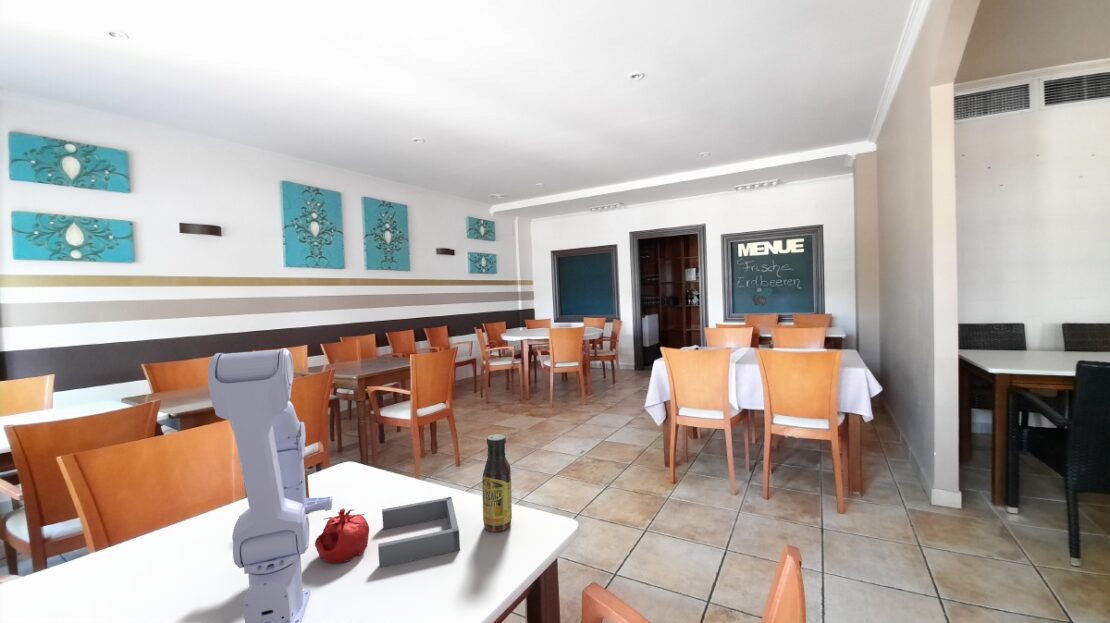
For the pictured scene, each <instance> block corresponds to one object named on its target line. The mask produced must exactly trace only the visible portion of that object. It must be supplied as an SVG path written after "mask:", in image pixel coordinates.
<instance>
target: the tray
mask: <svg viewBox="0 0 1110 623" xmlns="http://www.w3.org/2000/svg"><path fill="white" fill-rule="evenodd" d="M381 514H382V515H381V516H382V530H387V529H392V528H398V527H405V526H407V525H408V526H409V525H413V524H417V523H423V522H429V521H434V520H439V519H443V518H444V519H445V518H447V522H448V528H449V529H444V530H441V531H440V530H439V531H435V532H429V533H425V534H424V533H423V534H420V535H416V536H415V535H414V536H410V537H406V538H400V539H396V540H391V541H385V542H382V543H381V542H380V543H378V544H377V548H378V549H377V550H378V551H377V552H378V564H379V565H378V567H379V569H380V568H384V567H389V566H394V565H398V564H403V563H407V562H413V561H417V560H421V559H425V558H430V557H435V556H438V555H444V554H449V553H452V552H457V551H460V550H461V543H460V542H461V541H460V530H459V524H458V520H457V515H456V510H455V508H454V503H453V499H452V496H448V497H442V498H436V499H432V500H431V499H430V500H427V501H426V500H425V501H420V502H415V503H409V504H405V505H404V504H403V505H398V506H393V507H388V508H382V510H381Z"/></svg>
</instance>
